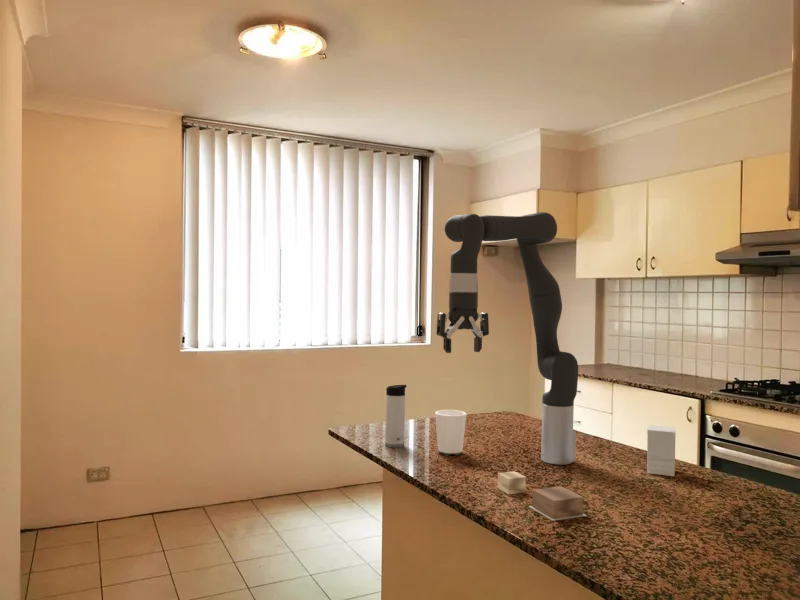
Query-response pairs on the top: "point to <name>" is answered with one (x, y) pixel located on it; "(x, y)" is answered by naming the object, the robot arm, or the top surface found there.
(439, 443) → the cup
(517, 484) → the maple cube
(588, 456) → the top surface
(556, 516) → the walnut base
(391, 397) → the travel mug
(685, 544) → the top surface
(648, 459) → the supplement box
